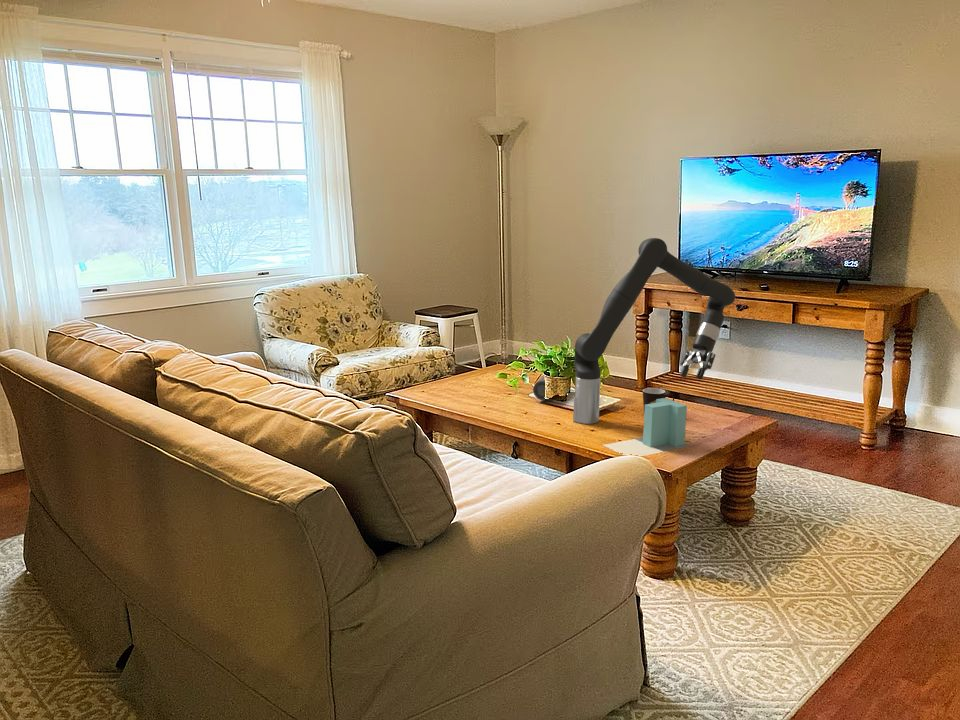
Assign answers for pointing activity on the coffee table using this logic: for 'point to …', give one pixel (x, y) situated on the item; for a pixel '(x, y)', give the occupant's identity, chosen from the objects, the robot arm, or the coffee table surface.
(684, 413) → the tee block
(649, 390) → the coffee mug
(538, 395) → the bluetooth speaker
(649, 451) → the felt mat
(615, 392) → the coffee table surface
